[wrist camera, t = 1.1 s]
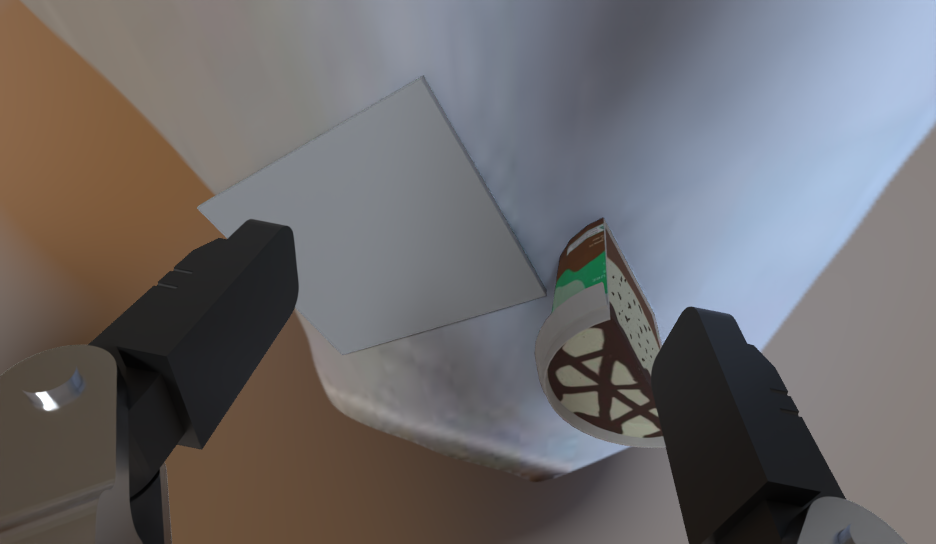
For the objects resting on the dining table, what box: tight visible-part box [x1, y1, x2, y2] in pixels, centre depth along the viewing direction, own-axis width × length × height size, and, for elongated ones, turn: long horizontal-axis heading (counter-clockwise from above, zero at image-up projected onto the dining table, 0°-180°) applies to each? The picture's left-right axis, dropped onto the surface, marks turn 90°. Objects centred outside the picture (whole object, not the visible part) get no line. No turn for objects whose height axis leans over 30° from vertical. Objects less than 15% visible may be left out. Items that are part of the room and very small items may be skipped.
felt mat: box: [197, 76, 546, 355], centre depth 33 cm, size 20×17×1 cm
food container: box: [535, 218, 666, 448], centre depth 29 cm, size 12×6×10 cm, turn 33°
